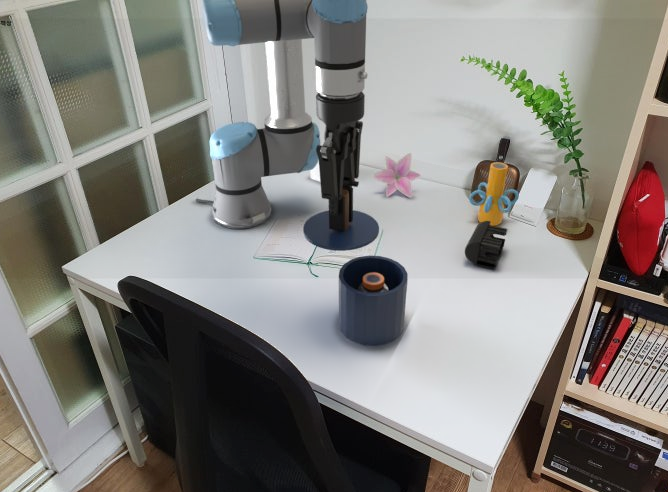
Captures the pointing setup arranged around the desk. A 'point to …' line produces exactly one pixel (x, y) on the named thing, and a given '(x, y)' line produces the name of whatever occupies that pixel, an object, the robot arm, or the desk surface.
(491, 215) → the yellow tubular piece
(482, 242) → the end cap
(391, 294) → the canister
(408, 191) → the lily
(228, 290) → the desk surface
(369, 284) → the pill bottle
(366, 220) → the lid
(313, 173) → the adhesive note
